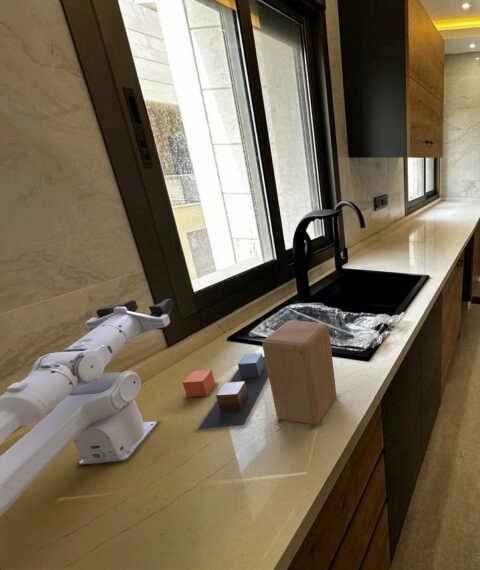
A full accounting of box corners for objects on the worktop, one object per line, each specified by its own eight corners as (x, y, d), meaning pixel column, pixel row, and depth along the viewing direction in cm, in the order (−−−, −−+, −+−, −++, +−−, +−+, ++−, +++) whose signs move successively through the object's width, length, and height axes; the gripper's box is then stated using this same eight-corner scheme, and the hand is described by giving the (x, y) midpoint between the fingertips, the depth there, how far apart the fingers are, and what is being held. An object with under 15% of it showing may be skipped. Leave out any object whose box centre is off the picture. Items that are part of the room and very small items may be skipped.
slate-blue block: (259, 377, 84) (256, 362, 83) (241, 378, 84) (237, 363, 82) (264, 367, 88) (261, 353, 87) (247, 368, 88) (244, 354, 86)
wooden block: (317, 427, 69) (305, 346, 62) (275, 420, 71) (259, 340, 64) (338, 396, 78) (330, 322, 71) (300, 390, 80) (288, 317, 73)
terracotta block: (207, 396, 78) (202, 381, 76) (187, 397, 77) (182, 382, 76) (215, 384, 82) (211, 369, 80) (196, 385, 81) (192, 371, 80)
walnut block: (241, 409, 73) (237, 393, 72) (220, 411, 73) (215, 395, 71) (248, 396, 78) (244, 381, 76) (228, 397, 77) (224, 382, 75)
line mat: (243, 425, 69) (243, 424, 69) (198, 429, 68) (198, 428, 68) (279, 357, 93) (278, 356, 93) (245, 359, 92) (245, 358, 92)
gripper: (143, 317, 63) (181, 286, 75) (58, 321, 61) (111, 289, 73) (156, 347, 66) (190, 312, 78) (75, 352, 64) (123, 316, 76)
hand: (153, 303), depth 76 cm, fingers open, 7 cm apart
